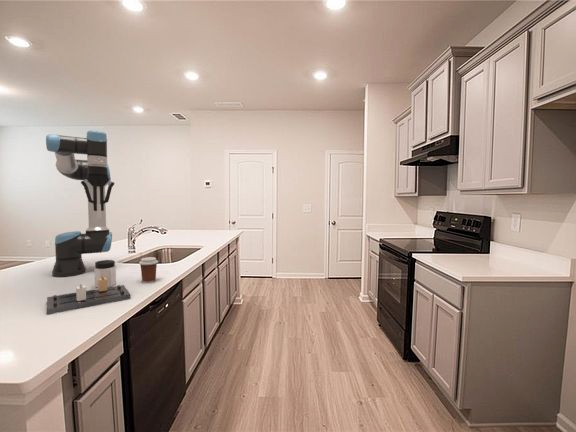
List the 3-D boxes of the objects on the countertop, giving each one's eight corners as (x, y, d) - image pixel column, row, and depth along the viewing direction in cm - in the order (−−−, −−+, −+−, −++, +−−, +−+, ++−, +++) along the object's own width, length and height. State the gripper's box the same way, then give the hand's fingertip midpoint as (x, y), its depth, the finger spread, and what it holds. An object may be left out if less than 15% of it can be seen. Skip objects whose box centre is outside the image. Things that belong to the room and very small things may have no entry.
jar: (94, 289, 136) (93, 264, 135) (94, 284, 143) (94, 261, 142) (116, 286, 141) (116, 262, 140) (115, 282, 147) (115, 259, 147)
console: (47, 301, 119) (47, 294, 119) (123, 289, 137) (123, 282, 137) (46, 314, 107) (46, 306, 107) (130, 298, 125) (130, 292, 124)
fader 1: (76, 298, 117) (76, 285, 117) (85, 296, 119) (84, 283, 119) (77, 301, 114) (76, 287, 114) (86, 299, 116) (85, 286, 116)
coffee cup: (145, 284, 144) (145, 261, 144) (135, 281, 149) (135, 258, 148) (162, 280, 152) (161, 258, 151) (151, 277, 157) (151, 255, 156)
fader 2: (98, 289, 129) (98, 277, 128) (106, 287, 131) (105, 276, 130) (99, 291, 126) (99, 279, 125) (107, 290, 128) (107, 278, 127)
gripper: (80, 164, 122) (82, 219, 123) (115, 166, 130) (116, 218, 132) (79, 165, 127) (80, 218, 129) (113, 167, 136) (114, 217, 137)
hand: (98, 218), depth 130 cm, fingers closed
